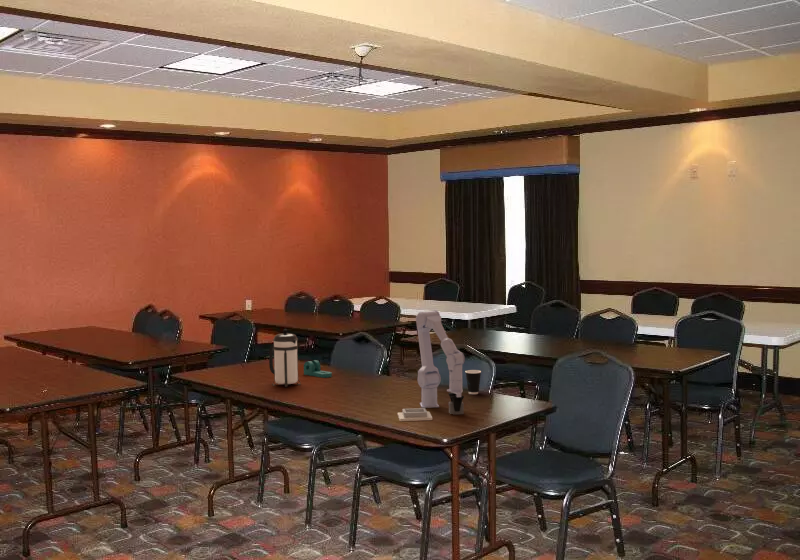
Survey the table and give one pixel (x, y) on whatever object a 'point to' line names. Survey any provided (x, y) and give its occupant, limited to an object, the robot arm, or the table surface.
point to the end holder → (414, 414)
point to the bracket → (315, 369)
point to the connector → (452, 411)
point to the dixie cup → (473, 381)
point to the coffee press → (284, 359)
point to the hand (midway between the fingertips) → (456, 410)
